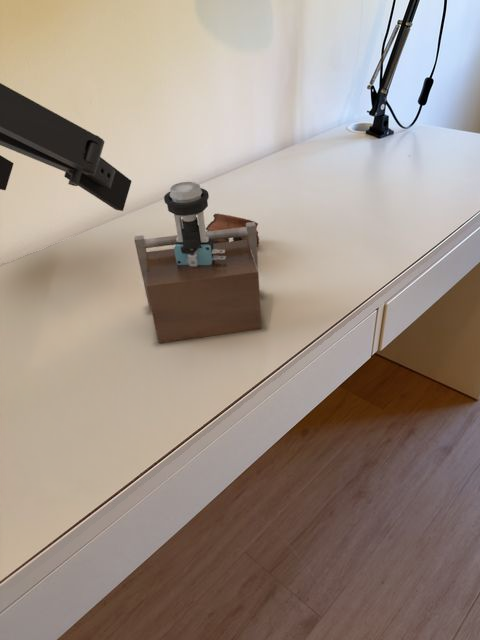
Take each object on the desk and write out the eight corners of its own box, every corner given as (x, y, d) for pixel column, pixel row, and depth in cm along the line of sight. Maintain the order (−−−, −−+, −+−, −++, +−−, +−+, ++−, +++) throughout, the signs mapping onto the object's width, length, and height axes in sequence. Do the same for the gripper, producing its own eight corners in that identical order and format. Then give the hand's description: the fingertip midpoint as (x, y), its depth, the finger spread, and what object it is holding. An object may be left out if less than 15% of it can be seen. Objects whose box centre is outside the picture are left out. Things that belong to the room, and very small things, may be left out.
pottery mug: (190, 258, 89) (199, 209, 87) (237, 267, 94) (246, 220, 93) (224, 270, 79) (235, 215, 78) (274, 278, 85) (286, 227, 83)
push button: (228, 251, 70) (221, 178, 64) (222, 272, 66) (214, 196, 60) (180, 251, 71) (168, 179, 65) (171, 271, 67) (157, 196, 61)
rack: (149, 307, 77) (134, 235, 70) (258, 292, 79) (254, 221, 72) (150, 344, 70) (133, 269, 63) (269, 327, 72) (266, 252, 65)
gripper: (-356, 69, 32) (-47, 205, 52) (-74, 97, 23) (167, 248, 43) (-317, -47, 32) (-25, 133, 52) (-24, -63, 23) (192, 161, 43)
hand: (62, 185), depth 47 cm, fingers open, 13 cm apart
